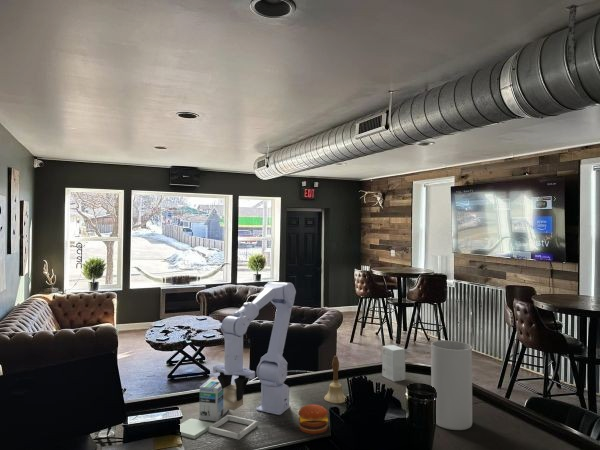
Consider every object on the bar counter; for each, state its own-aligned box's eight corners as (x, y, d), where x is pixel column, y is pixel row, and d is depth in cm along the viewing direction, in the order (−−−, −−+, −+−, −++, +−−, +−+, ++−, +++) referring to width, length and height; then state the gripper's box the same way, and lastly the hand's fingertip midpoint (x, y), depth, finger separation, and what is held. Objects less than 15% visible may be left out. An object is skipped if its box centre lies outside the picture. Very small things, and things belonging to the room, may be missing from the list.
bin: (257, 425, 134) (257, 421, 134) (239, 439, 125) (239, 434, 125) (227, 419, 139) (227, 414, 139) (208, 432, 130) (208, 427, 130)
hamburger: (330, 433, 130) (330, 411, 130) (299, 435, 129) (299, 413, 129) (326, 420, 139) (326, 399, 139) (296, 421, 138) (296, 401, 138)
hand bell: (351, 400, 156) (351, 356, 156) (333, 405, 151) (333, 360, 152) (336, 393, 163) (337, 351, 163) (319, 398, 158) (319, 354, 158)
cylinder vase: (473, 434, 129) (472, 351, 130) (430, 427, 134) (430, 347, 134) (471, 417, 141) (471, 342, 142) (432, 412, 146) (432, 339, 146)
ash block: (243, 404, 134) (243, 385, 134) (234, 410, 129) (234, 390, 129) (232, 402, 136) (232, 383, 136) (223, 408, 131) (223, 388, 131)
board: (213, 426, 134) (213, 423, 134) (194, 438, 126) (194, 435, 126) (190, 421, 138) (190, 418, 138) (171, 432, 129) (171, 429, 129)
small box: (405, 380, 178) (405, 348, 179) (393, 382, 176) (393, 350, 176) (393, 374, 186) (393, 344, 186) (381, 376, 183) (381, 345, 183)
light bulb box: (217, 422, 137) (218, 388, 138) (198, 420, 139) (198, 386, 139) (229, 408, 148) (229, 377, 148) (211, 407, 149) (211, 376, 149)
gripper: (207, 355, 132) (206, 398, 132) (246, 361, 126) (246, 407, 126) (220, 349, 139) (220, 391, 138) (258, 355, 132) (258, 399, 132)
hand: (233, 398), depth 132 cm, fingers closed on ash block, 4 cm apart
